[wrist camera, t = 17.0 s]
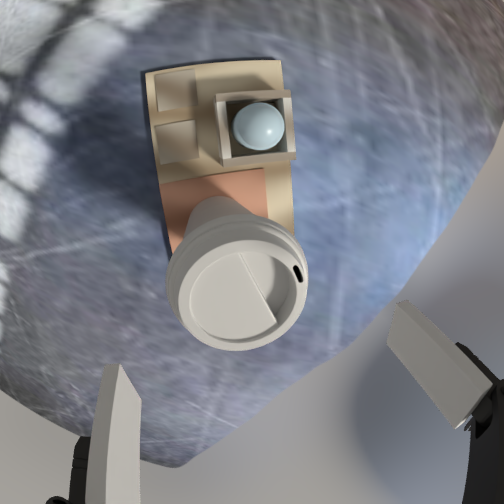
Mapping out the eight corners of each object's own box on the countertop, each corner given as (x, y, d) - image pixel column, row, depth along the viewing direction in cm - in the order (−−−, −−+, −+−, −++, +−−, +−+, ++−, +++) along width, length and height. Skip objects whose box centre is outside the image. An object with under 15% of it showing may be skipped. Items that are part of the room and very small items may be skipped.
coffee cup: (263, 259, 33) (313, 344, 19) (180, 270, 31) (180, 368, 18) (260, 177, 29) (323, 216, 15) (168, 186, 27) (148, 236, 14)
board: (146, 75, 23) (140, 66, 19) (278, 62, 25) (290, 52, 21) (178, 275, 32) (178, 293, 29) (292, 254, 35) (304, 269, 31)
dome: (228, 107, 24) (236, 101, 20) (272, 104, 25) (288, 99, 21) (233, 151, 26) (242, 153, 22) (276, 146, 27) (293, 149, 23)
